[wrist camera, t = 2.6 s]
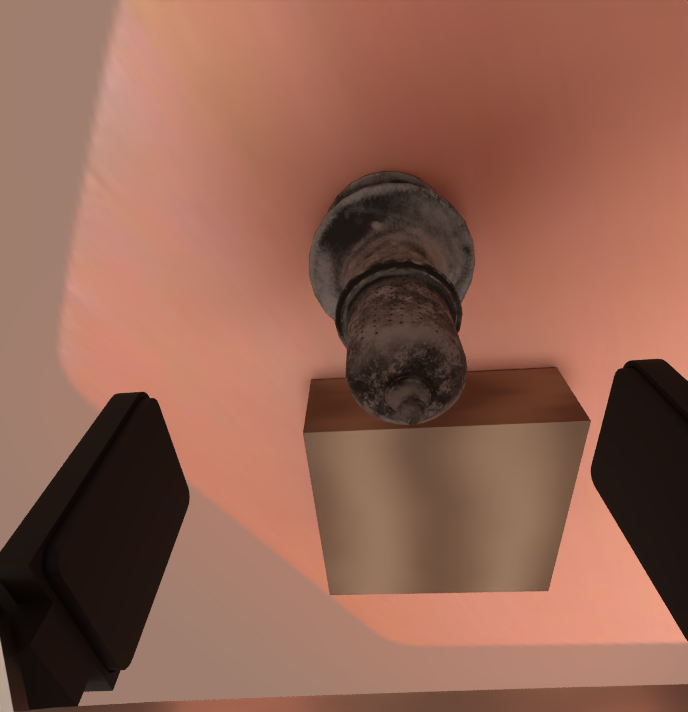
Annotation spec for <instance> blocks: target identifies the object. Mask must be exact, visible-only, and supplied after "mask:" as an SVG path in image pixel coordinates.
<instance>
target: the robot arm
mask: <svg viewBox="0 0 688 712" xmlns="http://www.w3.org/2000/svg"><path fill="white" fill-rule="evenodd" d="M591 477H592V481H593V484H594V486H595V487H596V489H597V491H598V492H599V494H600V496H601V497H602V499H603V501H604V502H605V504H606V506H607V508H608V509H609V511H610V513H611V514H612V516H613V518H614V519H615V521H616V523H617V524H618V526H619V528H620V529H621V531H622V533H623V534H624V536H625V538H626V539H627V541H628V543H629V544H630V546H631V548H632V549H633V551H634V553H635V554H636V556H637V558H638V559H639V561H640V563H641V564H642V566H643V568H644V569H645V571H646V573H647V574H648V576H649V578H650V580H651V581H652V583H653V585H654V586H655V588H656V590H657V591H658V593H659V595H660V596H661V598H662V600H663V601H664V603H665V605H666V606H667V608H668V610H669V611H670V613H671V615H672V616H673V618H674V620H675V621H676V623H677V625H678V626H679V628H680V630H681V631H682V633H683V635H684V636H685V638H686V639H687V641H688V381H687V380H686V379H685V378H684V377H682V376H681V375H680V374H679V373H678V372H677V371H676V370H675V369H674V368H673V367H671V366H670V365H669V364H668V363H667V362H666V361H664V360H663V359H648V360H632V361H629V362H627V363H626V364H625V365H624V367H623V368H621V369H618V370H617V371H616V373H615V376H614V380H613V384H612V387H611V391H610V395H609V399H608V403H607V407H606V411H605V415H604V419H603V422H602V426H601V430H600V434H599V438H598V442H597V446H596V450H595V454H594V457H593V461H592V465H591ZM188 505H189V489H188V486H187V483H186V480H185V477H184V474H183V472H182V469H181V466H180V463H179V460H178V457H177V455H176V452H175V449H174V446H173V443H172V440H171V437H170V435H169V432H168V429H167V426H166V423H165V420H164V418H163V415H162V412H161V409H160V406H159V404H158V402H157V400H156V399H154V398H150V397H149V396H148V394H147V393H145V392H133V393H118V394H115V395H114V396H113V397H112V398H111V399H110V400H109V402H108V403H107V405H106V406H105V407H104V409H103V410H102V412H101V413H100V414H99V416H98V417H97V418H96V420H95V421H94V423H93V424H92V425H91V427H90V428H89V430H88V431H87V432H86V434H85V435H84V436H83V438H82V439H81V441H80V442H79V443H78V445H77V446H76V448H75V449H74V450H73V452H72V453H71V454H70V456H69V457H68V459H67V460H66V461H65V463H64V464H63V466H62V467H61V468H60V470H59V471H58V473H57V474H56V476H55V477H54V478H53V479H52V481H51V482H50V484H49V485H48V486H47V488H46V489H45V491H44V492H43V493H42V495H41V496H40V498H39V499H38V500H37V502H36V503H35V505H34V506H33V507H32V509H31V510H30V511H29V513H28V514H27V515H26V517H25V518H24V520H23V521H22V523H21V524H20V525H19V527H18V528H17V529H16V531H15V532H14V534H13V535H12V536H11V538H10V539H9V540H8V542H7V543H6V545H5V546H4V547H3V549H2V550H1V551H0V712H688V684H680V685H646V686H645V685H643V686H611V687H609V686H608V687H571V688H537V689H504V690H476V691H475V690H473V691H442V692H411V693H381V694H352V695H323V696H298V697H297V696H296V697H271V698H244V699H219V700H192V701H169V702H168V701H167V702H145V703H128V704H110V705H93V706H78V704H79V702H80V699H81V697H82V694H83V692H84V691H85V692H86V691H112V690H113V689H114V686H115V683H116V681H117V678H118V675H119V673H120V670H125V669H126V668H127V667H128V666H129V665H130V663H131V661H132V659H133V656H134V653H135V651H136V648H137V645H138V642H139V640H140V637H141V634H142V632H143V629H144V626H145V623H146V620H147V618H148V615H149V612H150V610H151V607H152V604H153V601H154V598H155V596H156V593H157V590H158V588H159V585H160V582H161V579H162V577H163V574H164V571H165V568H166V566H167V563H168V560H169V558H170V554H171V552H172V549H173V547H174V544H175V541H176V538H177V536H178V533H179V530H180V527H181V525H182V522H183V519H184V516H185V514H186V511H187V508H188Z"/></svg>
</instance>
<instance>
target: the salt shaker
mask: <svg viewBox="0 0 688 712" xmlns="http://www.w3.org/2000/svg"><path fill="white" fill-rule="evenodd" d="M474 265H475V256H474V246H473V240H472V237H471V235H470V232H469V230H468V227H467V225H466V223H465V220H464V219H463V218H462V217H461V216H460V214H459V213H458V212H457V211H456V209H455V208H454V207H453V206H452V204H451V203H449V202H448V201H446V200H445V199H444V198H442V197H441V196H439V195H438V194H436V192H435V191H434V190H433V189H432V188H431V187H430V186H429V185H427V184H426V183H424V182H423V181H421V180H420V179H419V178H417V177H414V176H411V175H408V174H405V173H402V172H386V171H382V172H378V173H374V174H370V175H366V176H364V177H362V178H360V179H358V180H356V181H355V182H353V183H351V184H349V185H348V186H347V187H346V188H345V189H344V190H343V191H342V192H341V193H340V194H339V195H338V196H337V198H336V199H335V201H334V203H333V204H332V206H331V208H330V209H329V211H328V214H327V215H326V216H325V218H324V220H323V221H322V223H321V225H320V226H319V228H318V230H317V231H316V233H315V235H314V239H313V243H312V246H311V250H310V254H309V277H310V280H311V284H312V287H313V291H314V294H315V296H316V298H317V299H318V301H319V303H320V304H321V306H322V308H323V309H324V311H325V312H326V313H327V314H328V315H329V316H330V317H331V318H332V319H333V320H334V321H335V324H336V328H337V331H338V335H339V338H340V339H341V341H342V342H343V344H344V346H345V347H346V349H347V358H346V378H347V382H348V385H349V388H350V391H351V394H352V396H353V397H354V399H355V400H356V402H357V403H358V405H359V406H360V407H362V408H363V409H364V410H365V411H366V412H367V413H369V414H371V415H373V416H375V417H377V418H379V419H381V420H383V421H386V422H390V423H394V424H404V425H416V424H418V423H424V422H426V421H429V420H432V419H434V418H436V417H438V416H439V415H441V414H442V413H444V412H446V411H447V410H448V409H449V408H450V407H451V406H452V405H453V404H454V403H455V402H456V401H457V400H458V399H459V397H460V395H461V393H462V391H463V390H464V387H465V382H466V377H467V364H466V356H465V353H464V350H463V348H462V345H461V342H460V339H459V336H458V332H459V330H460V326H461V320H462V307H461V302H462V301H463V299H464V297H465V294H466V292H467V290H468V288H469V286H470V284H471V281H472V276H473V270H474Z"/></svg>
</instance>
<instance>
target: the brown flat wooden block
mask: <svg viewBox="0 0 688 712" xmlns="http://www.w3.org/2000/svg"><path fill="white" fill-rule="evenodd" d="M590 422H591V420H590V419H589V417H588V416H587V414H586V413H585V411H584V409H583V408H582V406H581V405H580V403H579V402H578V400H577V398H576V397H575V395H574V394H573V392H572V391H571V389H570V388H569V386H568V384H567V383H566V381H565V380H564V378H563V377H562V375H561V374H560V372H559V370H558V369H557V368H538V369H518V370H498V371H478V372H467V377H466V382H465V387H464V390H463V391H462V393H461V395H460V397H459V399H458V400H457V401H456V402H455V403H454V404H453V405H452V406H451V407H450V408H449V409H448V410H447V411H446V412H444V413H442V414H441V415H439V416H438V417H436V418H434V419H432V420H429V421H426V422H424V423H418V424H416V425H404V424H394V423H390V422H386V421H383V420H381V419H379V418H377V417H375V416H373V415H371V414H369V413H367V412H366V411H365V410H364V409H363V408H362V407H360V406H359V405H358V403H357V402H356V400H355V399H354V397H353V396H352V394H351V391H350V388H349V385H348V382H347V378H338V379H318V380H311V385H310V392H309V398H308V405H307V411H306V417H305V424H304V430H303V435H304V441H305V447H306V453H307V459H308V465H309V472H310V478H311V484H312V490H313V496H314V502H315V508H316V514H317V520H318V526H319V532H320V538H321V544H322V550H323V556H324V562H325V568H326V574H327V580H328V586H329V592H330V595H362V594H415V593H468V592H522V591H548V590H549V586H550V582H551V578H552V574H553V570H554V566H555V562H556V558H557V554H558V550H559V546H560V542H561V538H562V534H563V530H564V526H565V522H566V518H567V514H568V510H569V506H570V502H571V498H572V494H573V490H574V486H575V482H576V478H577V474H578V470H579V466H580V462H581V458H582V454H583V450H584V446H585V442H586V438H587V434H588V430H589V426H590Z"/></svg>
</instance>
